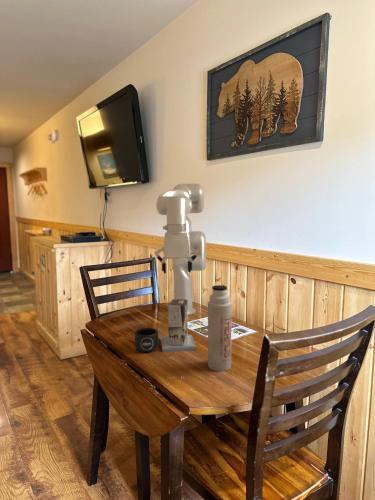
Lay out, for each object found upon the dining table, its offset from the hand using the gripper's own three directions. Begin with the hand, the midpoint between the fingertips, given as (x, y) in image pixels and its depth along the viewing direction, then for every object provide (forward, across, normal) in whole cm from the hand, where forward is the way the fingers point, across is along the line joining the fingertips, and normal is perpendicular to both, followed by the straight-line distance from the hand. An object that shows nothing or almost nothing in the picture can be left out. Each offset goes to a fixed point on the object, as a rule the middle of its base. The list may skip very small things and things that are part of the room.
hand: (177, 272), depth 134 cm
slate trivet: (+29, 0, -1) cm, 29 cm away
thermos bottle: (+29, +12, -22) cm, 38 cm away
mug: (+29, -13, -2) cm, 32 cm away
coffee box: (+28, 0, 0) cm, 28 cm away
